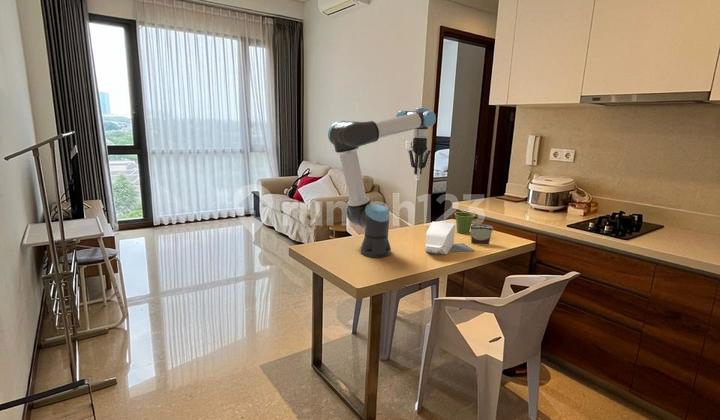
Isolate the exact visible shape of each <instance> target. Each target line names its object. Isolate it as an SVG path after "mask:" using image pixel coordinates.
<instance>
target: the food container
mask: <svg viewBox="0 0 720 420" xmlns="http://www.w3.org/2000/svg"><path fill="white" fill-rule="evenodd" d="M493 232H494V227H493V226H491V225H489V224H483V223H473V224H471V227H470V242H471V243H470V244H473V245H484V246H485V245H487V246H489V245H490V241H491V237H492V236H491V235H492V233H493Z"/></svg>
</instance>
